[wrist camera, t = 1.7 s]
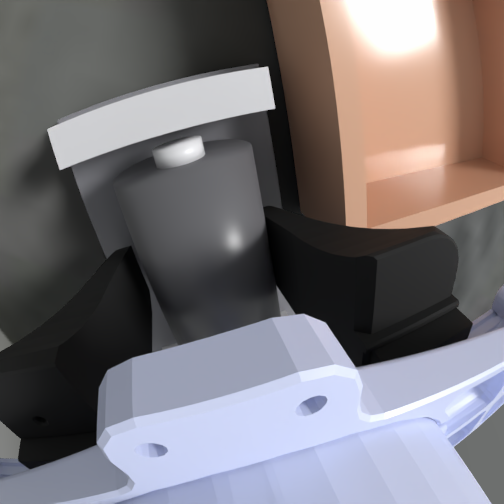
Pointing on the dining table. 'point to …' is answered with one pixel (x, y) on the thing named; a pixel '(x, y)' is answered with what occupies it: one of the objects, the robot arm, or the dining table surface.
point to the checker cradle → (156, 133)
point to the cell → (201, 235)
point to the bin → (393, 107)
